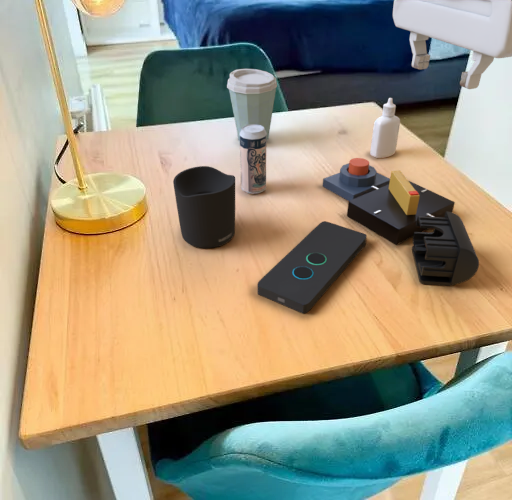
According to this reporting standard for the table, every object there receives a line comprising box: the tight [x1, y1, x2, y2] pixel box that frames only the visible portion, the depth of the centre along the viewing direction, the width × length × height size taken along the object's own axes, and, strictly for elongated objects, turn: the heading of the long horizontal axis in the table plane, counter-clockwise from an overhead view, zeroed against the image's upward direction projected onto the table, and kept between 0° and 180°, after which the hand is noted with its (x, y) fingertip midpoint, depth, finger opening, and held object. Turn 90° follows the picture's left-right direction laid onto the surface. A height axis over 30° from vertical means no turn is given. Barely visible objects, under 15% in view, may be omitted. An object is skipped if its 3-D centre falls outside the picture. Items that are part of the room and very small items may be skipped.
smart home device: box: [257, 220, 368, 314], centre depth 75 cm, size 8×2×20 cm
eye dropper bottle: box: [369, 97, 401, 159], centre depth 104 cm, size 4×6×12 cm
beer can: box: [239, 124, 267, 195], centre depth 92 cm, size 5×5×12 cm
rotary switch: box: [346, 180, 456, 246], centre depth 86 cm, size 14×13×3 cm
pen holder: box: [172, 165, 236, 249], centre depth 80 cm, size 9×9×10 cm
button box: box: [322, 162, 390, 201], centre depth 95 cm, size 10×8×4 cm
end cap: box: [411, 211, 480, 287], centre depth 73 cm, size 10×7×7 cm
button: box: [348, 157, 370, 176], centre depth 93 cm, size 4×4×2 cm
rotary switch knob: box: [389, 169, 420, 215], centre depth 84 cm, size 9×2×4 cm, turn 6°
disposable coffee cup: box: [226, 68, 278, 144], centre depth 109 cm, size 11×11×15 cm
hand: (442, 77), depth 67 cm, fingers open, 8 cm apart
